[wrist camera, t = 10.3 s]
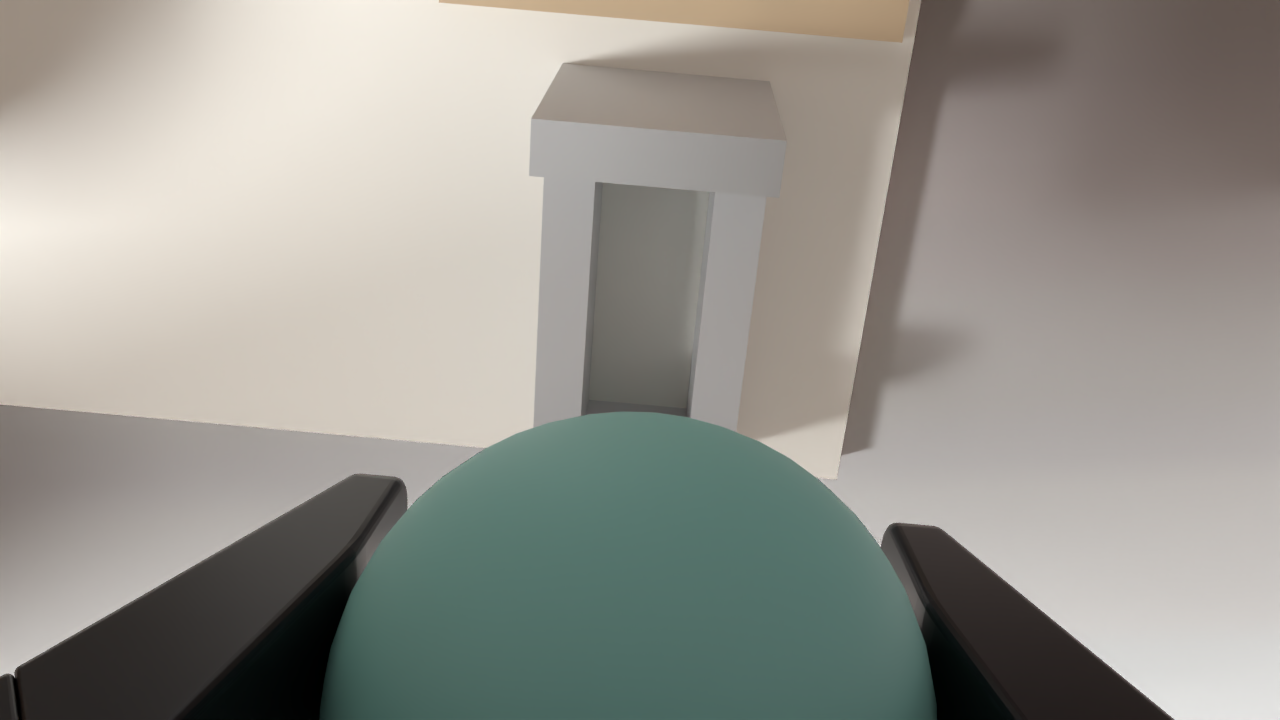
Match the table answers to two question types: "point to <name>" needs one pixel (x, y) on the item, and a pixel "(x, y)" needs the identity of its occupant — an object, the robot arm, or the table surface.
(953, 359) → the table surface
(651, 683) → the teal ball
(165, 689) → the robot arm
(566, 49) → the board
